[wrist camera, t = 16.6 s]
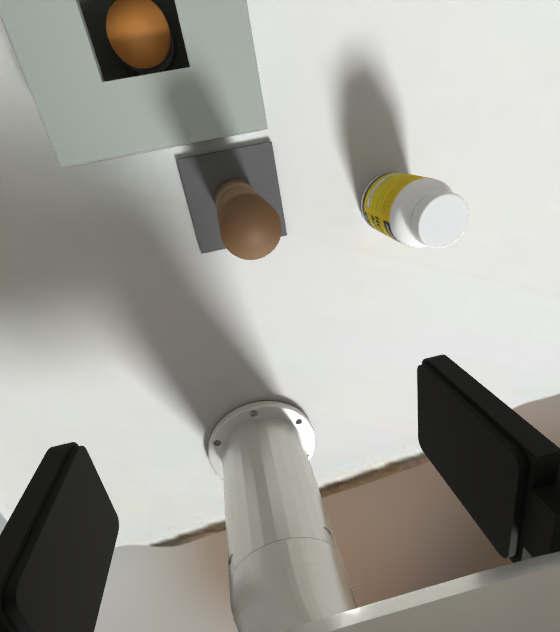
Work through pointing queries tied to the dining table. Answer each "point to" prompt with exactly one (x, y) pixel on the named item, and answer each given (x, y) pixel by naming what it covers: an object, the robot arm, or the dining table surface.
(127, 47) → the orange dome button
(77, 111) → the grey square block
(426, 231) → the supplement bottle
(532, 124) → the dining table surface
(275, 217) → the dowel
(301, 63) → the dining table surface
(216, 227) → the pad
